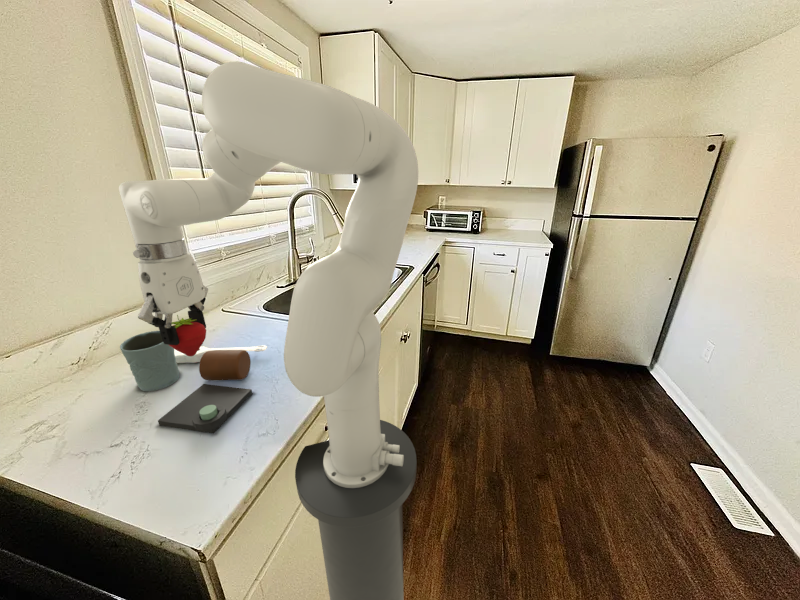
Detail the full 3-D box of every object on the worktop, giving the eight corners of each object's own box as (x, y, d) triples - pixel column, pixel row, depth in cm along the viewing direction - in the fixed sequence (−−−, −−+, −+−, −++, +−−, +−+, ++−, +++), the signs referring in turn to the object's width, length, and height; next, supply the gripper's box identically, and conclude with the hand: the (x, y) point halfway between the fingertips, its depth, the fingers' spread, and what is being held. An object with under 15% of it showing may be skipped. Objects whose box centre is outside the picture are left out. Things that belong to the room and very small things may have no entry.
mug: (258, 374, 90) (224, 374, 90) (258, 346, 91) (225, 347, 91) (237, 383, 78) (198, 383, 78) (237, 351, 79) (198, 351, 79)
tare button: (221, 411, 68) (219, 405, 67) (210, 421, 65) (208, 415, 65) (208, 409, 68) (206, 403, 68) (197, 419, 66) (195, 413, 65)
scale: (256, 394, 77) (254, 383, 76) (214, 438, 64) (211, 426, 63) (205, 388, 80) (202, 378, 79) (155, 429, 67) (151, 417, 66)
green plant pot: (171, 366, 89) (159, 327, 85) (191, 377, 84) (179, 336, 80) (127, 385, 81) (111, 343, 77) (146, 399, 76) (130, 354, 72)
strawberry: (209, 360, 68) (197, 316, 64) (167, 366, 65) (152, 321, 62) (214, 346, 73) (204, 305, 69) (175, 352, 71) (163, 310, 67)
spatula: (271, 351, 97) (269, 342, 96) (265, 361, 91) (263, 352, 90) (172, 354, 95) (170, 346, 94) (160, 365, 89) (158, 356, 88)
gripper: (136, 262, 52) (166, 359, 59) (213, 242, 68) (230, 319, 75) (98, 261, 54) (131, 355, 60) (182, 241, 69) (201, 317, 76)
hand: (186, 335), depth 67 cm, fingers closed on strawberry, 6 cm apart
